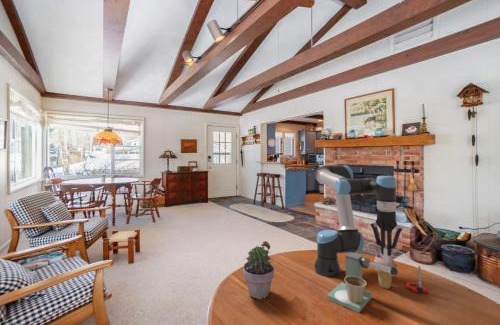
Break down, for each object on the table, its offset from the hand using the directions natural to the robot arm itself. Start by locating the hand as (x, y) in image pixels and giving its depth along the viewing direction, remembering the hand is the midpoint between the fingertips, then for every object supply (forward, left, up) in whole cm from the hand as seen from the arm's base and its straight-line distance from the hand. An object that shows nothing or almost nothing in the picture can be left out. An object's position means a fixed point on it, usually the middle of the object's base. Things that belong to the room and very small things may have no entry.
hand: (386, 262), depth 109 cm
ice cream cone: (-6, +18, -20) cm, 28 cm away
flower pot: (-11, -8, -18) cm, 23 cm away
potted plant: (-49, -33, -20) cm, 62 cm away
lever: (-3, 0, -5) cm, 6 cm away
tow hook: (+6, +27, -21) cm, 34 cm away
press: (-15, -5, -20) cm, 26 cm away
